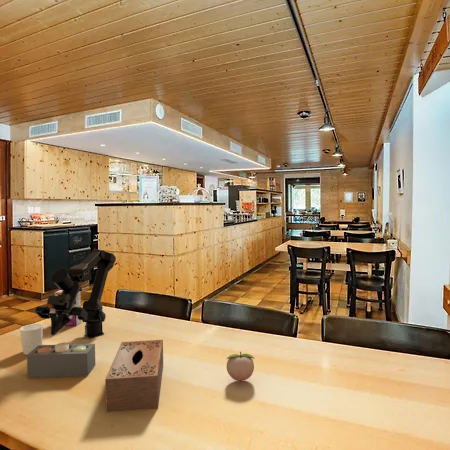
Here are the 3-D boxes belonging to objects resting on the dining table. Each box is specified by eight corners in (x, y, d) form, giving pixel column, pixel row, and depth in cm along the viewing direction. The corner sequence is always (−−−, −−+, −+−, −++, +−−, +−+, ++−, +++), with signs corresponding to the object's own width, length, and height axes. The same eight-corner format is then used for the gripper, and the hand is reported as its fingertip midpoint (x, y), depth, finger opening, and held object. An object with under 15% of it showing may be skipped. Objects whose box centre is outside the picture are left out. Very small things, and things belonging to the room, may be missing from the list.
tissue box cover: (122, 369, 121) (121, 342, 120) (163, 366, 123) (162, 339, 122) (106, 413, 95) (105, 379, 95) (158, 409, 97) (157, 375, 97)
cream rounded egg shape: (58, 354, 121) (58, 342, 121) (71, 354, 121) (70, 342, 121) (53, 360, 117) (52, 347, 116) (66, 360, 117) (65, 347, 116)
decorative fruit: (231, 390, 106) (230, 359, 106) (224, 377, 114) (223, 348, 113) (258, 386, 109) (258, 355, 108) (250, 373, 117) (250, 345, 116)
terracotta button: (41, 359, 121) (41, 346, 120) (54, 358, 121) (53, 346, 121) (35, 364, 116) (34, 352, 116) (48, 364, 117) (48, 351, 116)
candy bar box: (54, 325, 164) (53, 292, 163) (60, 322, 169) (59, 289, 168) (76, 326, 163) (75, 292, 162) (82, 322, 168) (80, 290, 167)
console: (39, 366, 123) (38, 345, 122) (95, 364, 124) (94, 343, 123) (27, 377, 115) (26, 355, 114) (87, 376, 116) (87, 353, 115)
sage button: (76, 358, 121) (75, 345, 121) (88, 357, 122) (88, 345, 121) (71, 363, 117) (70, 351, 117) (84, 363, 117) (83, 350, 117)
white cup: (26, 357, 130) (25, 332, 129) (17, 352, 135) (16, 327, 134) (47, 350, 136) (46, 326, 136) (38, 345, 141) (37, 322, 140)
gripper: (35, 285, 128) (16, 324, 118) (82, 286, 125) (66, 326, 115) (50, 299, 136) (33, 337, 126) (94, 300, 134) (80, 339, 124)
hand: (52, 334), depth 123 cm, fingers closed
